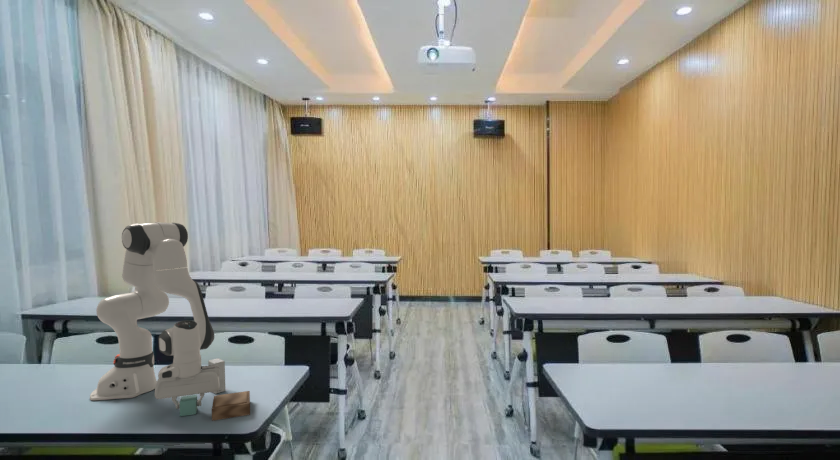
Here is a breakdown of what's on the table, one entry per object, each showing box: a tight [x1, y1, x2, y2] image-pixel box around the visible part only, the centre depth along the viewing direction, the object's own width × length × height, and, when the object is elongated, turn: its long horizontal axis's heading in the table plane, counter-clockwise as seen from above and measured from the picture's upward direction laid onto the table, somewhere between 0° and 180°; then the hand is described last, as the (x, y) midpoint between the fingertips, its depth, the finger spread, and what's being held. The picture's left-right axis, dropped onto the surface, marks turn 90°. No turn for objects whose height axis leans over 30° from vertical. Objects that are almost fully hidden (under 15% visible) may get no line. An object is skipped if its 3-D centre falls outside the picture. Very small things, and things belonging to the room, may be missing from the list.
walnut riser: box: [211, 390, 251, 422], centre depth 161 cm, size 12×12×4 cm
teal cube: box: [178, 394, 199, 417], centre depth 159 cm, size 5×5×5 cm
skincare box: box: [207, 357, 226, 395], centre depth 179 cm, size 6×4×12 cm
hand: (188, 406), depth 159 cm, fingers closed on teal cube, 5 cm apart
